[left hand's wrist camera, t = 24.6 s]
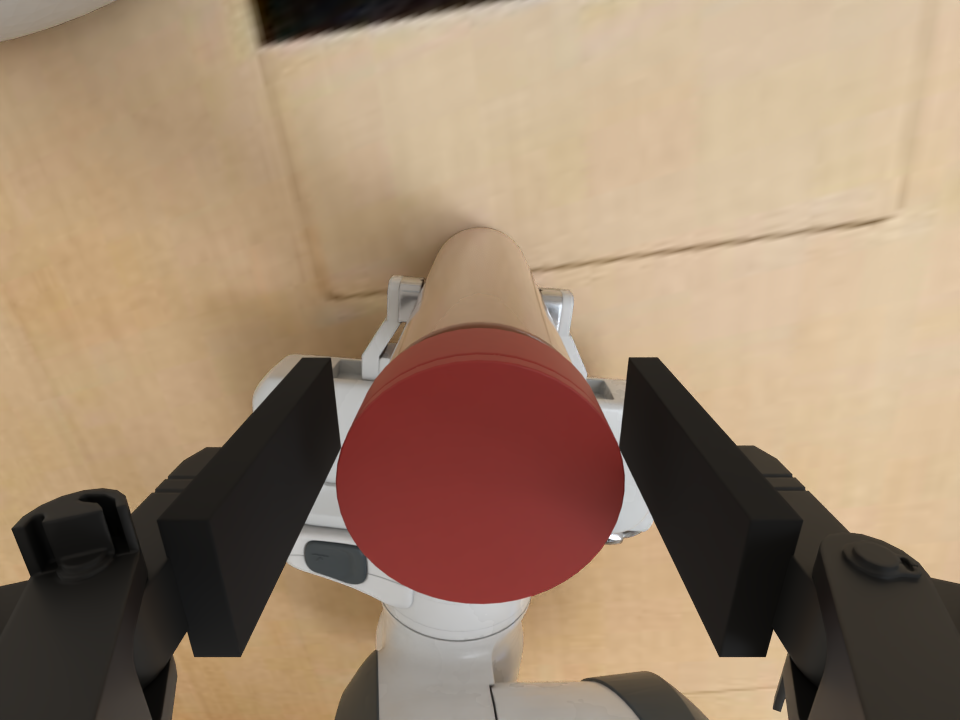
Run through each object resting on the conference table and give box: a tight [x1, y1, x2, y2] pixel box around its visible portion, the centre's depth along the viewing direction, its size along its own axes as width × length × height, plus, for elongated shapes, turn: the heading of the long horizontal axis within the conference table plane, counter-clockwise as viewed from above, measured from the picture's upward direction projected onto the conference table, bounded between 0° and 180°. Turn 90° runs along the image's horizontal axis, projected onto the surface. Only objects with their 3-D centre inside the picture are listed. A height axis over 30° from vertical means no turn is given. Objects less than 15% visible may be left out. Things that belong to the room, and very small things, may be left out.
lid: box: [336, 328, 625, 604], centre depth 11 cm, size 6×6×2 cm
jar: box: [388, 227, 572, 364], centre depth 20 cm, size 5×5×20 cm
